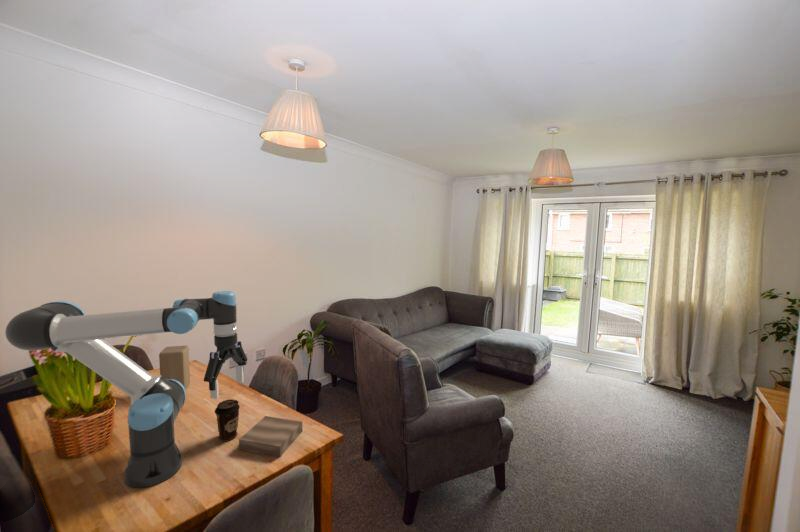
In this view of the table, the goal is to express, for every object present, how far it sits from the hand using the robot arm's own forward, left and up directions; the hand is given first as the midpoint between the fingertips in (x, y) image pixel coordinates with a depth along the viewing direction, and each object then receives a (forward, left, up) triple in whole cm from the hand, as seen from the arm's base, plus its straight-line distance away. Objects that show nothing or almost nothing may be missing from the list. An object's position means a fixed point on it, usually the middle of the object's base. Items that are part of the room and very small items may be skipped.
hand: (227, 389), depth 131 cm
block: (+27, +50, -19) cm, 60 cm away
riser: (+2, -17, -19) cm, 25 cm away
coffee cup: (0, 0, -19) cm, 19 cm away
